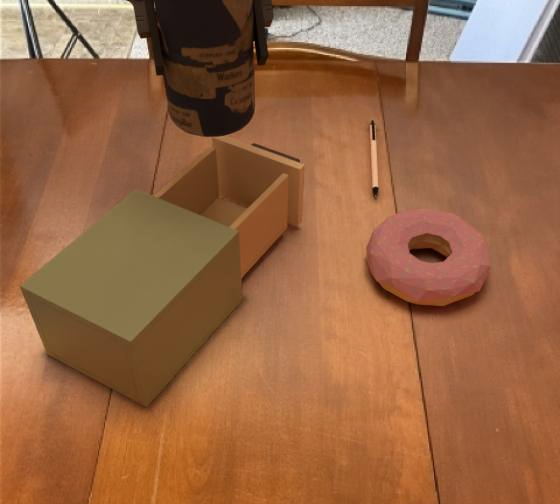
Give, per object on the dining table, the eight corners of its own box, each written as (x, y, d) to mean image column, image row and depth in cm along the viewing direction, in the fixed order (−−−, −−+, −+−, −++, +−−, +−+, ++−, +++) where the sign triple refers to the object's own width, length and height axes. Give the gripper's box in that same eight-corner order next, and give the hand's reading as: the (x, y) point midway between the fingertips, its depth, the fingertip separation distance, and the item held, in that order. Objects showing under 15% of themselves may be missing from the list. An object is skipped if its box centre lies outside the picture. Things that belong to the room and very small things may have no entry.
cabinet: (148, 258, 87) (135, 188, 79) (242, 300, 83) (239, 230, 74) (46, 354, 77) (19, 285, 69) (146, 407, 73) (130, 341, 64)
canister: (223, 154, 71) (211, -33, 57) (151, 127, 74) (122, -58, 60) (272, 112, 76) (272, -70, 62) (202, 88, 79) (187, -91, 65)
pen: (374, 123, 107) (375, 117, 106) (378, 199, 95) (379, 192, 94) (369, 123, 107) (370, 117, 106) (372, 199, 95) (373, 192, 94)
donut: (460, 331, 80) (470, 302, 76) (344, 286, 84) (347, 256, 81) (501, 254, 88) (511, 224, 84) (393, 217, 93) (398, 186, 89)
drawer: (238, 173, 97) (235, 116, 90) (318, 204, 93) (322, 146, 86) (142, 263, 85) (130, 205, 78) (229, 302, 81) (225, 245, 74)
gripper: (283, -161, 69) (313, 67, 72) (61, -149, 66) (101, 88, 69) (297, -216, 62) (329, 41, 65) (47, -206, 59) (93, 63, 62)
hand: (212, 65), depth 67 cm, fingers closed on canister, 9 cm apart
